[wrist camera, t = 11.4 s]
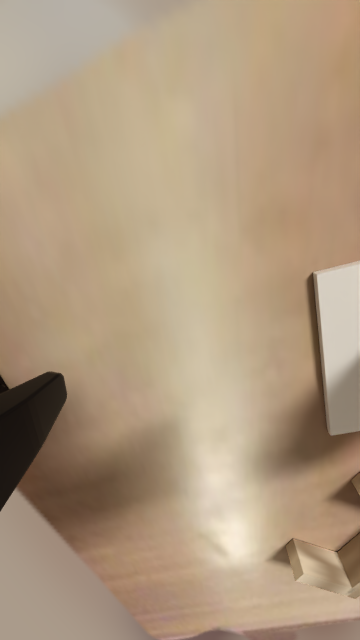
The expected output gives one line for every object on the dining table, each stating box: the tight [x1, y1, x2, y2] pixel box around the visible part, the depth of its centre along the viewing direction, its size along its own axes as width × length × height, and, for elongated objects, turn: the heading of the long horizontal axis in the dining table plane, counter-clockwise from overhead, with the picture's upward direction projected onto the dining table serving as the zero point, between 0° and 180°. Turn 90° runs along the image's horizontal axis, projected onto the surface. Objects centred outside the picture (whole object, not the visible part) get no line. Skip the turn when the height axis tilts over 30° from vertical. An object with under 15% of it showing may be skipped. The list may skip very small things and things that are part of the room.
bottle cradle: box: [286, 472, 360, 599], centre depth 26 cm, size 7×13×3 cm, turn 158°
